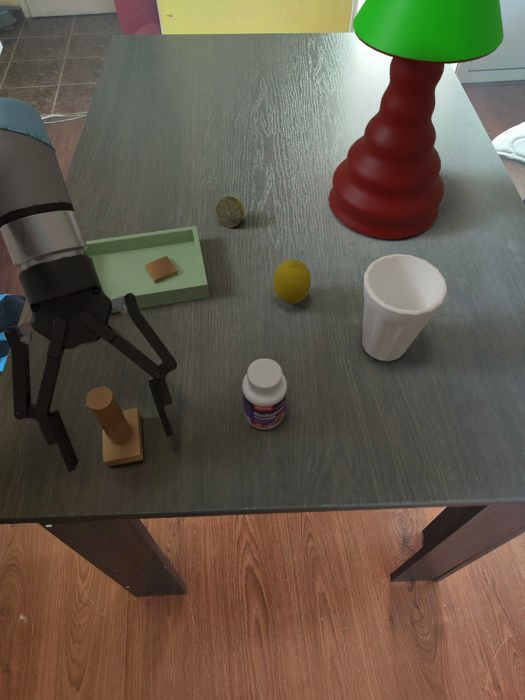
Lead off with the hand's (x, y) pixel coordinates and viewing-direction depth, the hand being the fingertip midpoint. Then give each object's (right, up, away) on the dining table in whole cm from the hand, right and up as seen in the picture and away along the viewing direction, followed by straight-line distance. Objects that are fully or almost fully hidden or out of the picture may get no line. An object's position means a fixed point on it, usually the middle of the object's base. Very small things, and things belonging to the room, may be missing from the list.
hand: (122, 449), depth 54 cm
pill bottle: (+16, +3, +7) cm, 18 cm away
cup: (+34, +12, +13) cm, 38 cm away
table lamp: (+38, +38, +32) cm, 62 cm away
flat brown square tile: (0, +24, +21) cm, 32 cm away
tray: (-3, +23, +21) cm, 32 cm away
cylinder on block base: (-1, 0, +5) cm, 5 cm away
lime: (+11, +34, +29) cm, 46 cm away
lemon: (+21, +19, +18) cm, 34 cm away
